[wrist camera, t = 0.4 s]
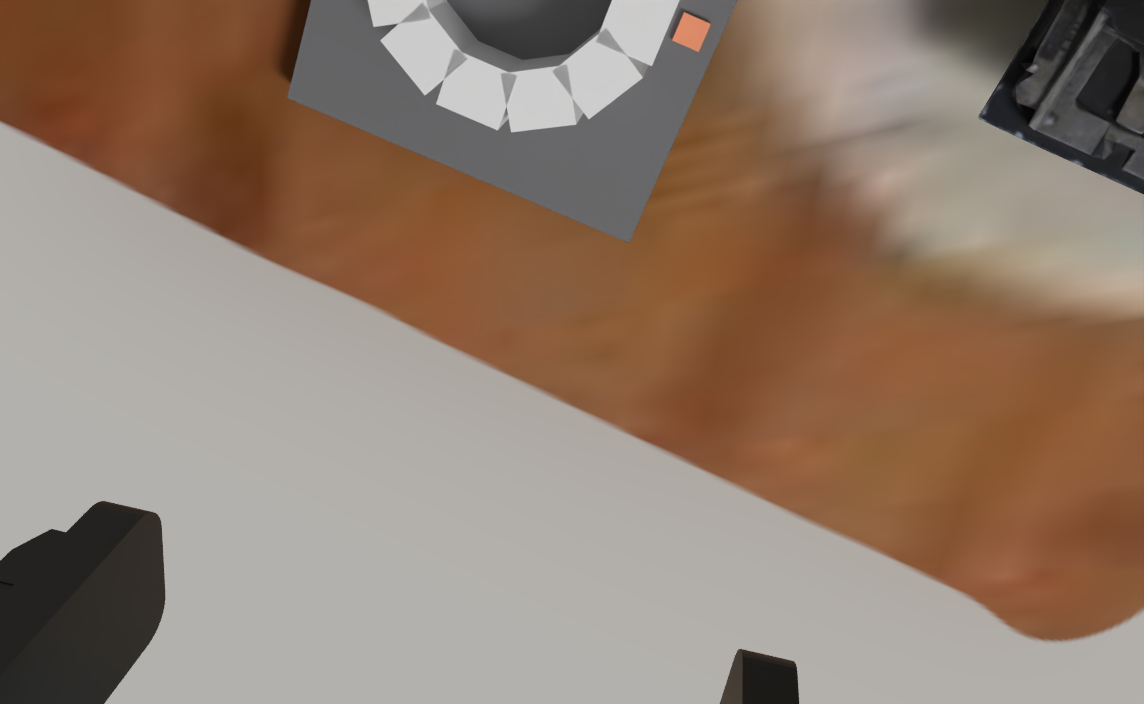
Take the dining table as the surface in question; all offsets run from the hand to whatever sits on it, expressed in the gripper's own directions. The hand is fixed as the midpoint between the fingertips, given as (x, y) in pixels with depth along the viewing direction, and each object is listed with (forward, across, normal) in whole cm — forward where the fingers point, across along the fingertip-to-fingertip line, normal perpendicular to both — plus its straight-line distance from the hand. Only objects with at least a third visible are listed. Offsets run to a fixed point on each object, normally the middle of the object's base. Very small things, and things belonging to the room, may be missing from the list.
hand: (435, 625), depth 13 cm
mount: (+27, +4, -5) cm, 28 cm away
